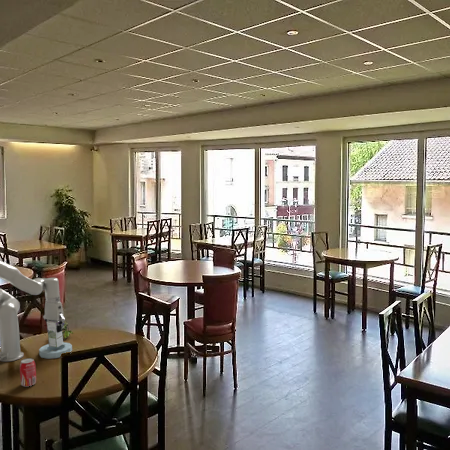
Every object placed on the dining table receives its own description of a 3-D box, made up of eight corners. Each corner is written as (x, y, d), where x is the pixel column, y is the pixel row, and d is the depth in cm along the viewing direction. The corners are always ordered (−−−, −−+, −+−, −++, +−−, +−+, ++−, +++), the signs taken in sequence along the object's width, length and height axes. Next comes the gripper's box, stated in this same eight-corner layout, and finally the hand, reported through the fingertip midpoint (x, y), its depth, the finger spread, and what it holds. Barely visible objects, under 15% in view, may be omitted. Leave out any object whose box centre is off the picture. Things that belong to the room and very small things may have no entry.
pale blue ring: (56, 360, 259) (55, 354, 259) (33, 355, 267) (32, 350, 266) (78, 349, 275) (77, 344, 274) (55, 345, 282) (55, 340, 282)
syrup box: (63, 344, 272) (61, 319, 271) (56, 347, 267) (55, 322, 265) (55, 343, 274) (53, 318, 272) (48, 346, 268) (46, 321, 267)
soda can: (23, 381, 232) (22, 358, 231) (38, 381, 233) (37, 357, 232) (18, 388, 225) (17, 363, 224) (34, 387, 226) (32, 362, 225)
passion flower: (58, 346, 297) (54, 328, 302) (75, 340, 300) (71, 322, 305) (55, 341, 287) (51, 322, 292) (73, 335, 290) (69, 317, 295)
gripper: (69, 299, 267) (71, 330, 269) (46, 297, 274) (48, 327, 276) (59, 303, 260) (61, 335, 262) (36, 300, 268) (38, 331, 270)
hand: (54, 330), depth 269 cm, fingers closed on syrup box, 6 cm apart
